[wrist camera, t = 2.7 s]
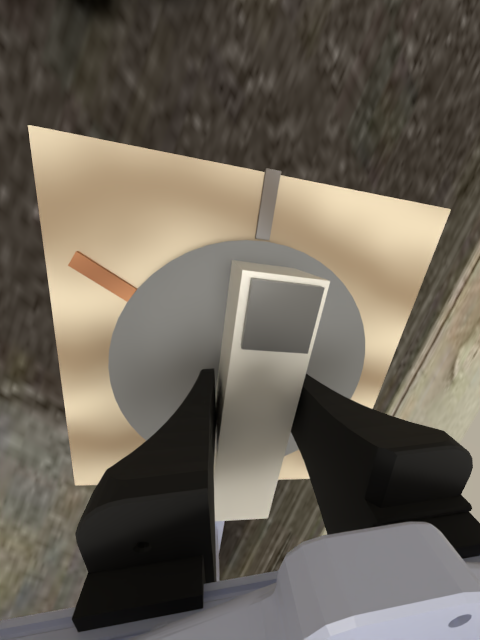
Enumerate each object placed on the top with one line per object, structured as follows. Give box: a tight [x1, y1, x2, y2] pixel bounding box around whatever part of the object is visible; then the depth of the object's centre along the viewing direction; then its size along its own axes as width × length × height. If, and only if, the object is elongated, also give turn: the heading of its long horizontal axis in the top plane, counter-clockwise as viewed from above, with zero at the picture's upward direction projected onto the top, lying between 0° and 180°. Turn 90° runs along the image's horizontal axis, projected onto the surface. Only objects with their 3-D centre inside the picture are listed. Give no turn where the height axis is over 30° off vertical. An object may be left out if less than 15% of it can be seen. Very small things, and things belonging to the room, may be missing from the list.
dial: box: [108, 240, 365, 521], centre depth 11 cm, size 14×14×5 cm
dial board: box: [28, 125, 451, 486], centre depth 15 cm, size 20×20×2 cm
